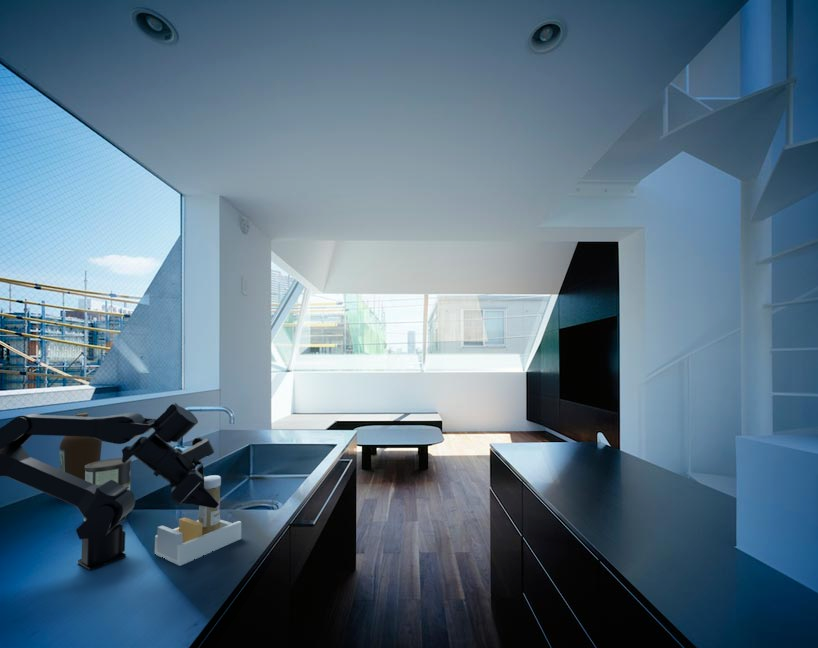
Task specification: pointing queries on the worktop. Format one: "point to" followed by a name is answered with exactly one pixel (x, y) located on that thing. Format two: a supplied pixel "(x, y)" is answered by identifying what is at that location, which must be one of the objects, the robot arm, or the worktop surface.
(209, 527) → the sprinkles bottle
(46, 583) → the worktop surface
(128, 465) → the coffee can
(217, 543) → the tray
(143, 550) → the worktop surface
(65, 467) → the olive oil
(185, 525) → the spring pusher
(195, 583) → the worktop surface
